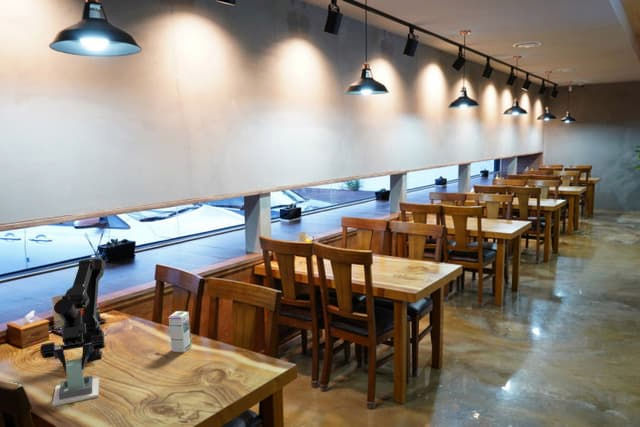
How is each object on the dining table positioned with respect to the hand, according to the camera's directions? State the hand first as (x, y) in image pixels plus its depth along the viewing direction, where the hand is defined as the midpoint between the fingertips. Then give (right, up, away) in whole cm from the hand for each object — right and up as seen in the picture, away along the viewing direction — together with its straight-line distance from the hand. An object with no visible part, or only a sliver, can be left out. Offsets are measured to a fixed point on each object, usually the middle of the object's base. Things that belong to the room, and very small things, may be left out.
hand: (74, 370), depth 160 cm
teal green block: (0, -6, +2) cm, 7 cm away
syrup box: (+25, -3, +34) cm, 43 cm away
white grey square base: (0, -8, +2) cm, 8 cm away
